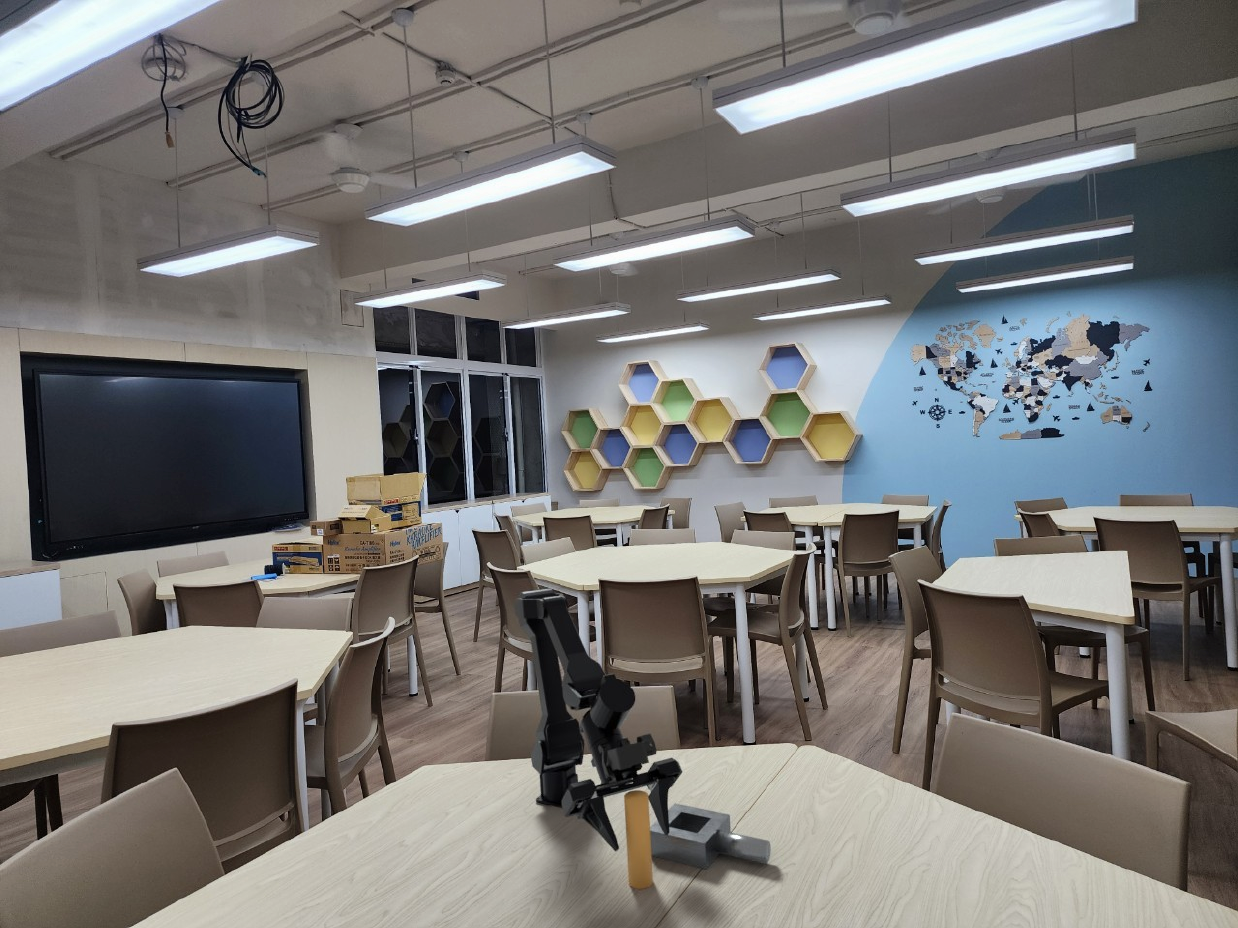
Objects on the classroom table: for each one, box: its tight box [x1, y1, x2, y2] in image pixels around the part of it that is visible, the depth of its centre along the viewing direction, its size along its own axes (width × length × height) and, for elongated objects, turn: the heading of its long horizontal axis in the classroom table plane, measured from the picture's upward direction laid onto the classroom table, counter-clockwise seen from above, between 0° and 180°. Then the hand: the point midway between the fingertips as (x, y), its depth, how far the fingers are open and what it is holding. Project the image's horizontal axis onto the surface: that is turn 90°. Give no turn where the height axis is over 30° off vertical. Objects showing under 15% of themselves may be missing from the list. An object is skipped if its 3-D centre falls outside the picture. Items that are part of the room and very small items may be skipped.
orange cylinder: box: [623, 789, 654, 890], centre depth 113 cm, size 4×4×13 cm
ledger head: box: [650, 802, 772, 870], centre depth 120 cm, size 18×10×4 cm, turn 60°
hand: (642, 841), depth 112 cm, fingers open, 8 cm apart
